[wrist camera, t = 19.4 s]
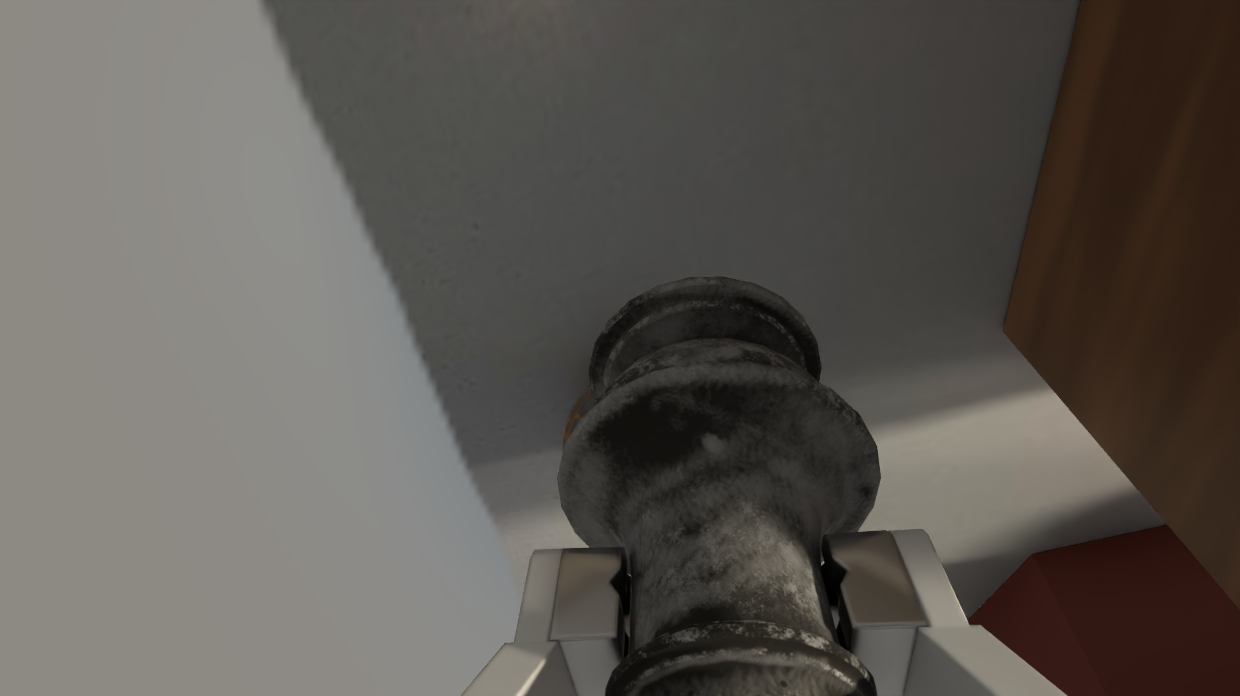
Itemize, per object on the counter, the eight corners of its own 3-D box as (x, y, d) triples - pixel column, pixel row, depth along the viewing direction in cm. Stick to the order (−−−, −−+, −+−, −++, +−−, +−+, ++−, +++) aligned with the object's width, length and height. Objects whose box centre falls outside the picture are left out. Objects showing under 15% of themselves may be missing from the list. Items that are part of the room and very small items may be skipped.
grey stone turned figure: (759, 493, 17) (918, 1342, 7) (546, 430, 16) (362, 1305, 6) (886, 316, 13) (1543, 1428, 4) (627, 223, 13) (530, 1373, 3)
